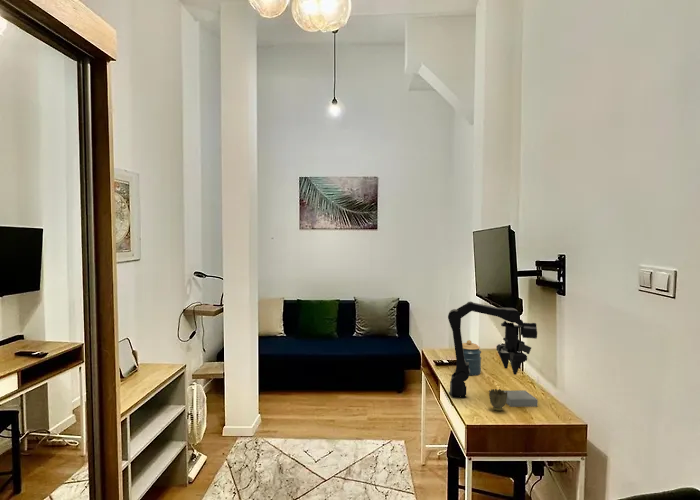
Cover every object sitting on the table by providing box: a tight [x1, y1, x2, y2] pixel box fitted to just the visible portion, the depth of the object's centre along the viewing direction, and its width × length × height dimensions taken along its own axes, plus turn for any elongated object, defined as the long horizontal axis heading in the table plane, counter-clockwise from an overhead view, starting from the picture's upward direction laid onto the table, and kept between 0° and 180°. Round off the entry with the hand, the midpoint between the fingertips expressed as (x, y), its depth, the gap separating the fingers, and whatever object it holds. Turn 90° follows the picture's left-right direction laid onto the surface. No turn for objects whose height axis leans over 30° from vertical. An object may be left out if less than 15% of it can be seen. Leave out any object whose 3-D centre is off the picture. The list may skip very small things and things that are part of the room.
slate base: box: [504, 389, 539, 408], centre depth 199 cm, size 12×12×3 cm
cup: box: [488, 388, 508, 412], centre depth 189 cm, size 8×7×8 cm
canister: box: [462, 339, 482, 376], centre depth 244 cm, size 13×13×18 cm
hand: (510, 371), depth 200 cm, fingers open, 9 cm apart
